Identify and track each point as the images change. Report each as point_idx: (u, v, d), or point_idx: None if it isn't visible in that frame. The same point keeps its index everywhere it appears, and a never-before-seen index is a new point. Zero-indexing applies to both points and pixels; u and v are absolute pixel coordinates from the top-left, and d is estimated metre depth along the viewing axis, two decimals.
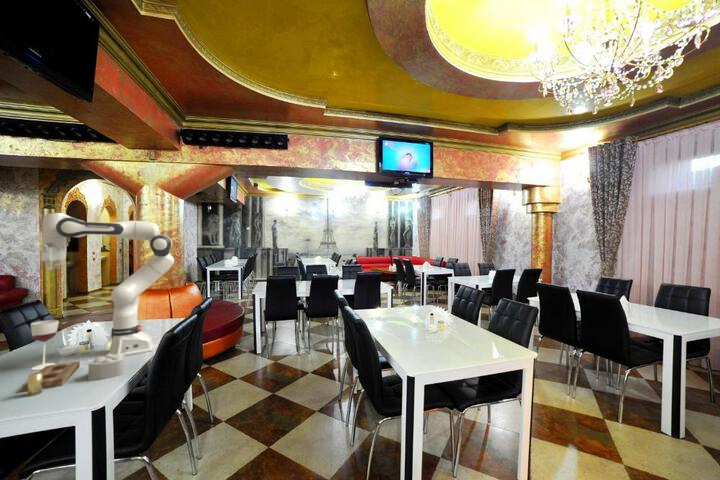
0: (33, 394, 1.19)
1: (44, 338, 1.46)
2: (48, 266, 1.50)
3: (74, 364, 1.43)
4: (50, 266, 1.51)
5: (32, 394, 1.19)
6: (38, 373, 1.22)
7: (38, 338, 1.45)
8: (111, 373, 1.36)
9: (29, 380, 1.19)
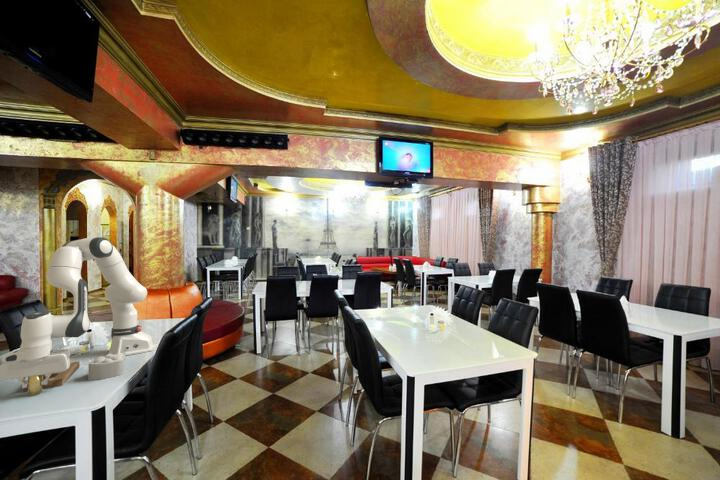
0: (33, 394, 1.19)
1: None
2: (47, 379, 1.23)
3: (74, 364, 1.43)
4: None
5: (32, 394, 1.19)
6: None
7: None
8: (111, 372, 1.36)
9: (29, 380, 1.19)
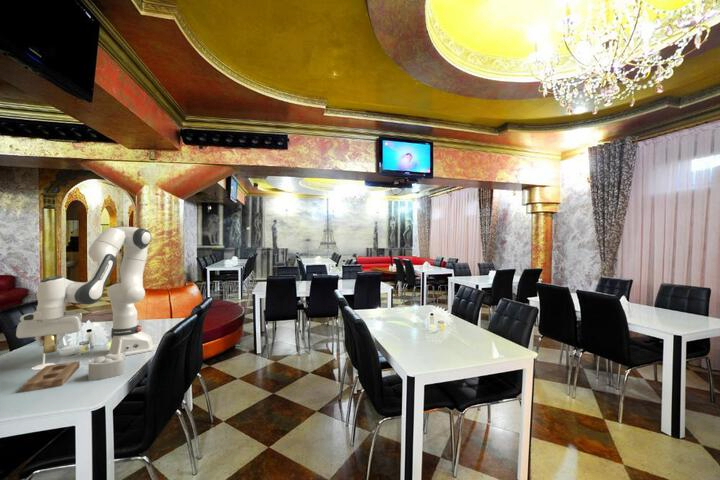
0: (48, 352, 1.29)
1: None
2: (61, 339, 1.32)
3: (74, 364, 1.43)
4: None
5: (47, 352, 1.29)
6: None
7: None
8: (111, 373, 1.36)
9: (45, 338, 1.29)
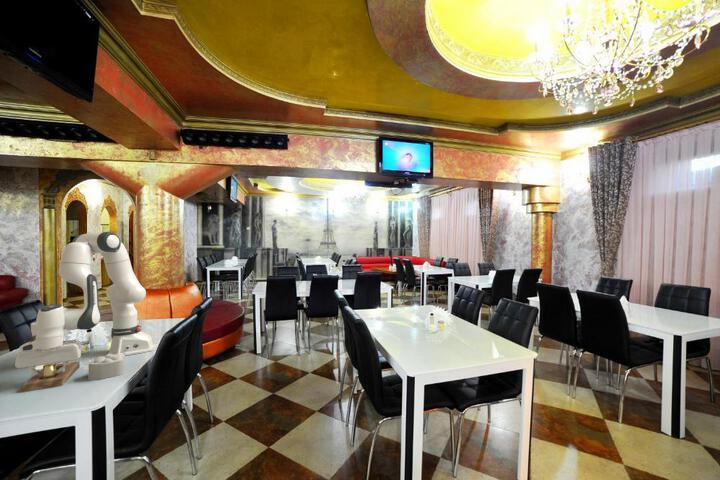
0: None
1: None
2: None
3: (74, 364, 1.43)
4: None
5: None
6: (52, 364, 1.31)
7: None
8: (111, 373, 1.36)
9: (44, 370, 1.28)
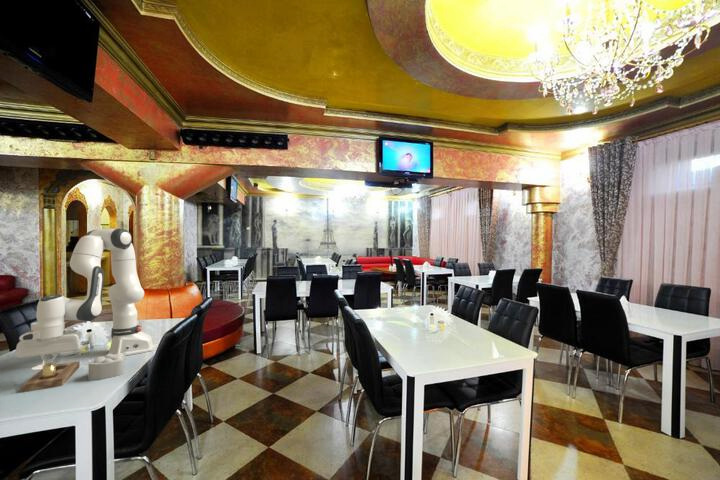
0: None
1: None
2: (54, 358, 1.31)
3: (74, 364, 1.43)
4: None
5: None
6: (52, 364, 1.31)
7: None
8: (111, 372, 1.36)
9: (43, 370, 1.28)
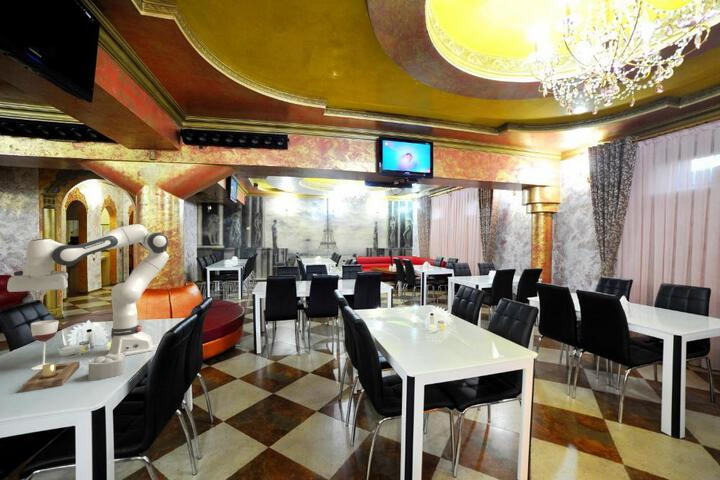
0: None
1: (44, 338, 1.46)
2: (43, 295, 1.44)
3: (74, 364, 1.43)
4: (43, 295, 1.45)
5: None
6: (51, 364, 1.31)
7: (38, 338, 1.45)
8: (111, 372, 1.36)
9: (43, 370, 1.28)
